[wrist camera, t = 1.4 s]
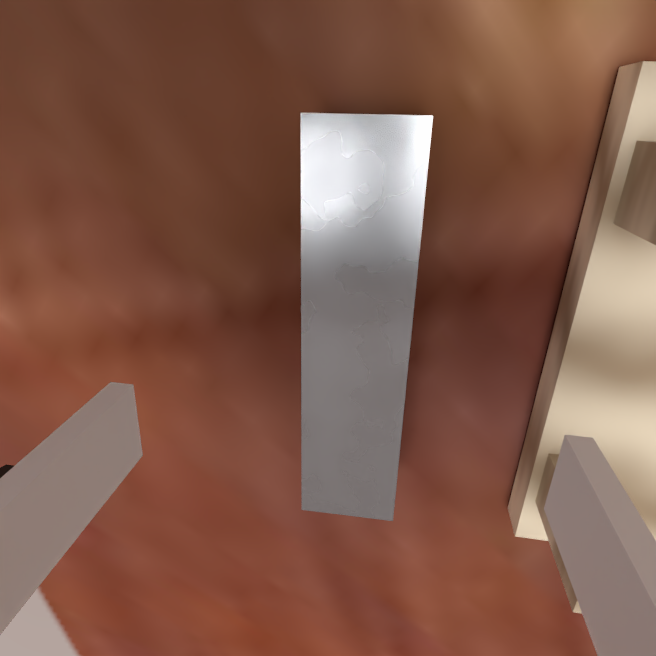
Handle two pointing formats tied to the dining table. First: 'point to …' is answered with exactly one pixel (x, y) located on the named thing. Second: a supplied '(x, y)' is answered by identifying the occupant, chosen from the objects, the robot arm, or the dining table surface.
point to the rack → (604, 325)
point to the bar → (357, 302)
